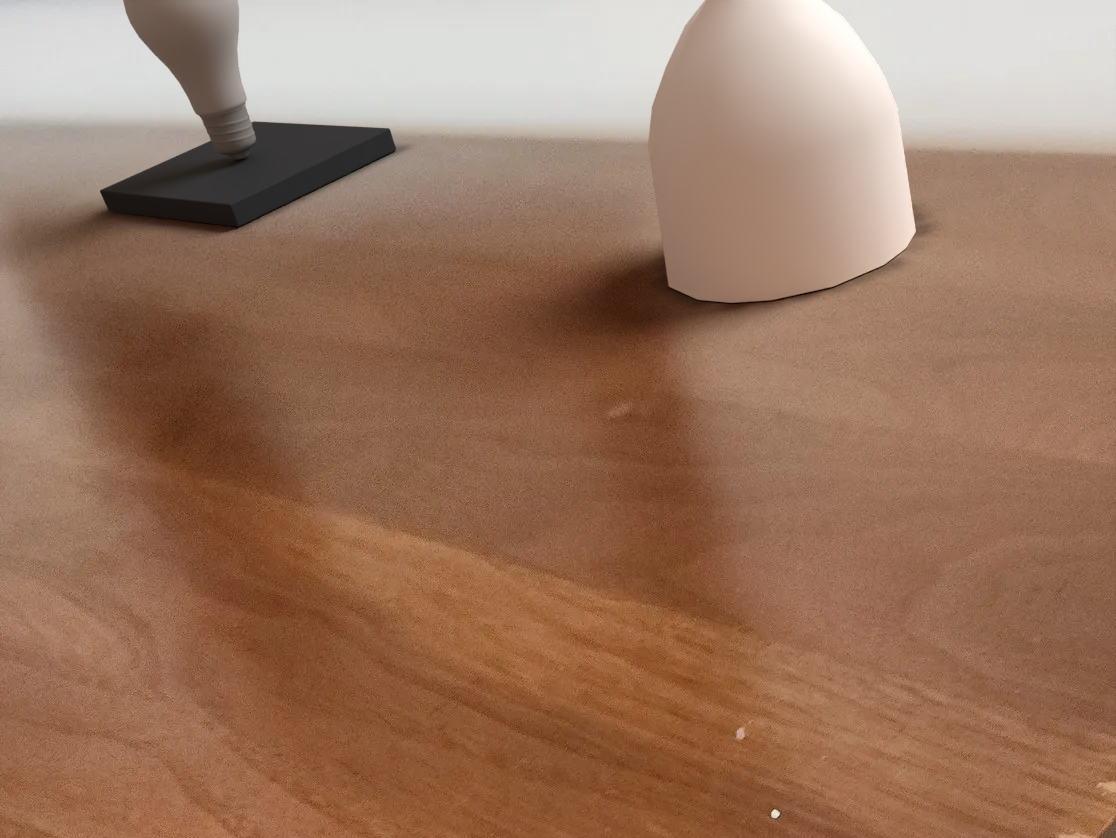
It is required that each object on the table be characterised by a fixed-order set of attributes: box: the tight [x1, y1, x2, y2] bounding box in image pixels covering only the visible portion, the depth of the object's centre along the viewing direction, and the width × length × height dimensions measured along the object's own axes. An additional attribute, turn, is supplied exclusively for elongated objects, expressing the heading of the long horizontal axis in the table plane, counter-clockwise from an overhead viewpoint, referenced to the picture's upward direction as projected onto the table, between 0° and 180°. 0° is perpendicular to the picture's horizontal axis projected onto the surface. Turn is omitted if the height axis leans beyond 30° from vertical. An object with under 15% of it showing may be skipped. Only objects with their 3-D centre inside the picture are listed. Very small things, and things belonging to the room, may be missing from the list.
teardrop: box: [647, 0, 917, 304], centre depth 58 cm, size 11×11×12 cm
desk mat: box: [99, 120, 397, 228], centre depth 86 cm, size 14×12×1 cm
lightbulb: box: [122, 0, 256, 160], centre depth 82 cm, size 6×6×11 cm
